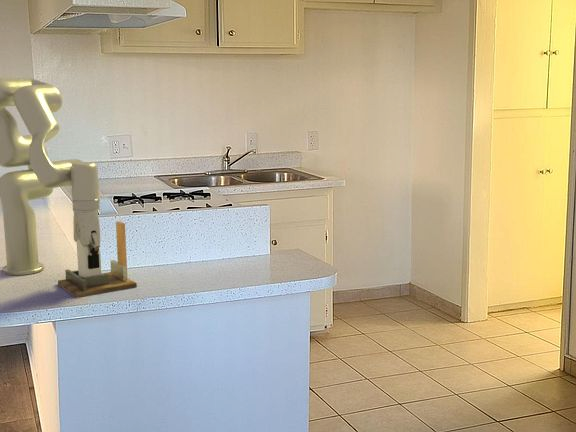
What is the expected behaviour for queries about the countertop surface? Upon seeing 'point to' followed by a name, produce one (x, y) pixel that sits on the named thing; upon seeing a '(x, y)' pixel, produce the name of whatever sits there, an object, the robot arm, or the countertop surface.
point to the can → (86, 261)
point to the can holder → (86, 280)
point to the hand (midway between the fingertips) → (89, 265)
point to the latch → (120, 253)
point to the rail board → (113, 286)
